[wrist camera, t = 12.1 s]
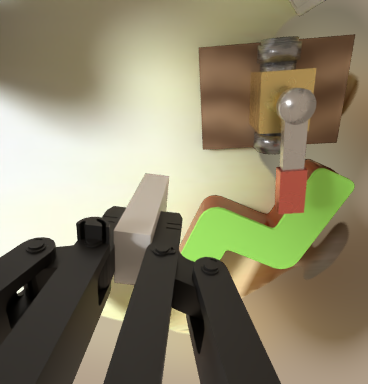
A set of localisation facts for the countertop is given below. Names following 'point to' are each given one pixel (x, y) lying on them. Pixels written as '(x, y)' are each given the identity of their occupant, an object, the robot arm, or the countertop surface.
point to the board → (240, 89)
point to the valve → (275, 88)
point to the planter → (267, 223)
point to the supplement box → (304, 5)
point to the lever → (293, 149)
